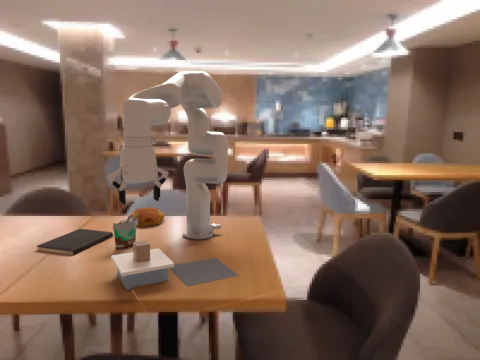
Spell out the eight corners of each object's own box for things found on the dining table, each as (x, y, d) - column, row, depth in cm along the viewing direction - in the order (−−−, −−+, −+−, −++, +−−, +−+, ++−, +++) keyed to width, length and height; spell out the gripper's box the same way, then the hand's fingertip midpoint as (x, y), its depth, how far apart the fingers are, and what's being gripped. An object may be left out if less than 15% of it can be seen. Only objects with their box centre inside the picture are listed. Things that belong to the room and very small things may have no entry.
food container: (129, 251, 139) (128, 224, 137) (113, 250, 140) (112, 223, 138) (144, 241, 151) (143, 216, 149) (129, 240, 152) (128, 215, 150)
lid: (158, 251, 125) (158, 233, 124) (174, 266, 112) (174, 246, 111) (111, 258, 118) (110, 239, 117) (121, 276, 105) (121, 255, 104)
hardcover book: (36, 251, 139) (36, 245, 139) (80, 233, 161) (79, 228, 161) (73, 256, 135) (73, 250, 134) (113, 237, 156) (113, 232, 156)
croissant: (131, 224, 183) (128, 207, 181) (164, 218, 186) (162, 202, 184) (130, 232, 169) (126, 214, 167) (165, 225, 172) (162, 208, 171)
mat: (215, 258, 133) (215, 257, 133) (239, 276, 118) (239, 275, 118) (167, 267, 124) (167, 266, 124) (187, 288, 110) (187, 286, 110)
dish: (155, 268, 124) (155, 253, 123) (167, 282, 114) (167, 265, 113) (117, 275, 118) (116, 259, 118) (126, 290, 108) (126, 273, 107)
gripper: (163, 141, 117) (164, 196, 120) (103, 143, 109) (106, 202, 112) (171, 143, 110) (172, 201, 113) (109, 145, 102) (112, 207, 105)
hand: (140, 201), depth 112 cm, fingers open, 9 cm apart
